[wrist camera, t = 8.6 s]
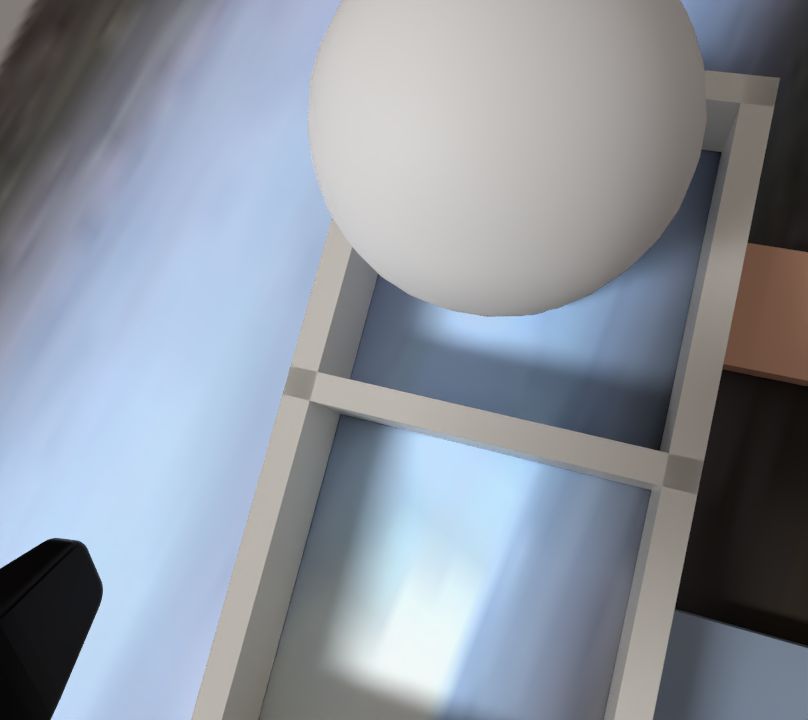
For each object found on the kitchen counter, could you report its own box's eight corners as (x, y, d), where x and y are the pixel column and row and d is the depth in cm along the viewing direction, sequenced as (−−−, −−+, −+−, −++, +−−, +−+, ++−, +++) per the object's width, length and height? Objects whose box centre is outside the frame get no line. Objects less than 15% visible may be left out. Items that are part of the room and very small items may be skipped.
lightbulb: (375, 238, 21) (175, -48, 10) (576, 126, 20) (579, -297, 10) (477, 435, 19) (362, 334, 9) (699, 320, 19) (864, 62, 8)
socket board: (759, 948, 16) (789, 1022, 14) (224, 743, 19) (175, 775, 17) (897, 147, 18) (942, 94, 16) (404, 87, 22) (383, 36, 19)
